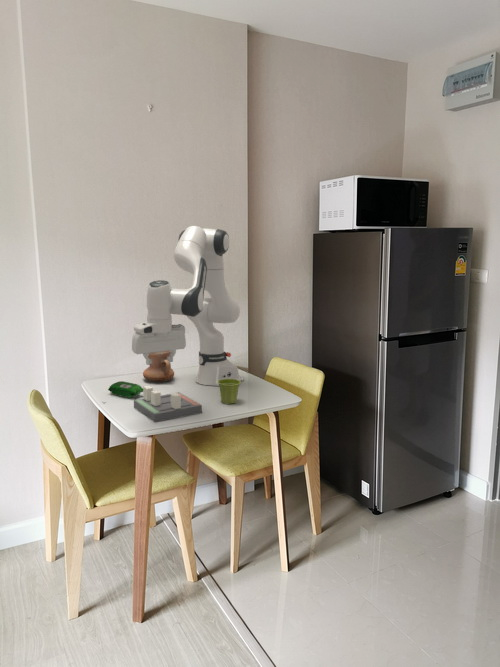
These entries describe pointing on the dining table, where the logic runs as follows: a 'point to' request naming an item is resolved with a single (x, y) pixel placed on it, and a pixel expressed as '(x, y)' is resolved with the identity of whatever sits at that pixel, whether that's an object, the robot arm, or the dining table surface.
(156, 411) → the panel
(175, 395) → the block
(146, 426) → the dining table surface
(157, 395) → the block
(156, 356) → the ceramic jug
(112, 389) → the snack package
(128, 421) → the dining table surface
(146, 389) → the inner breaker
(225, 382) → the plant pot
